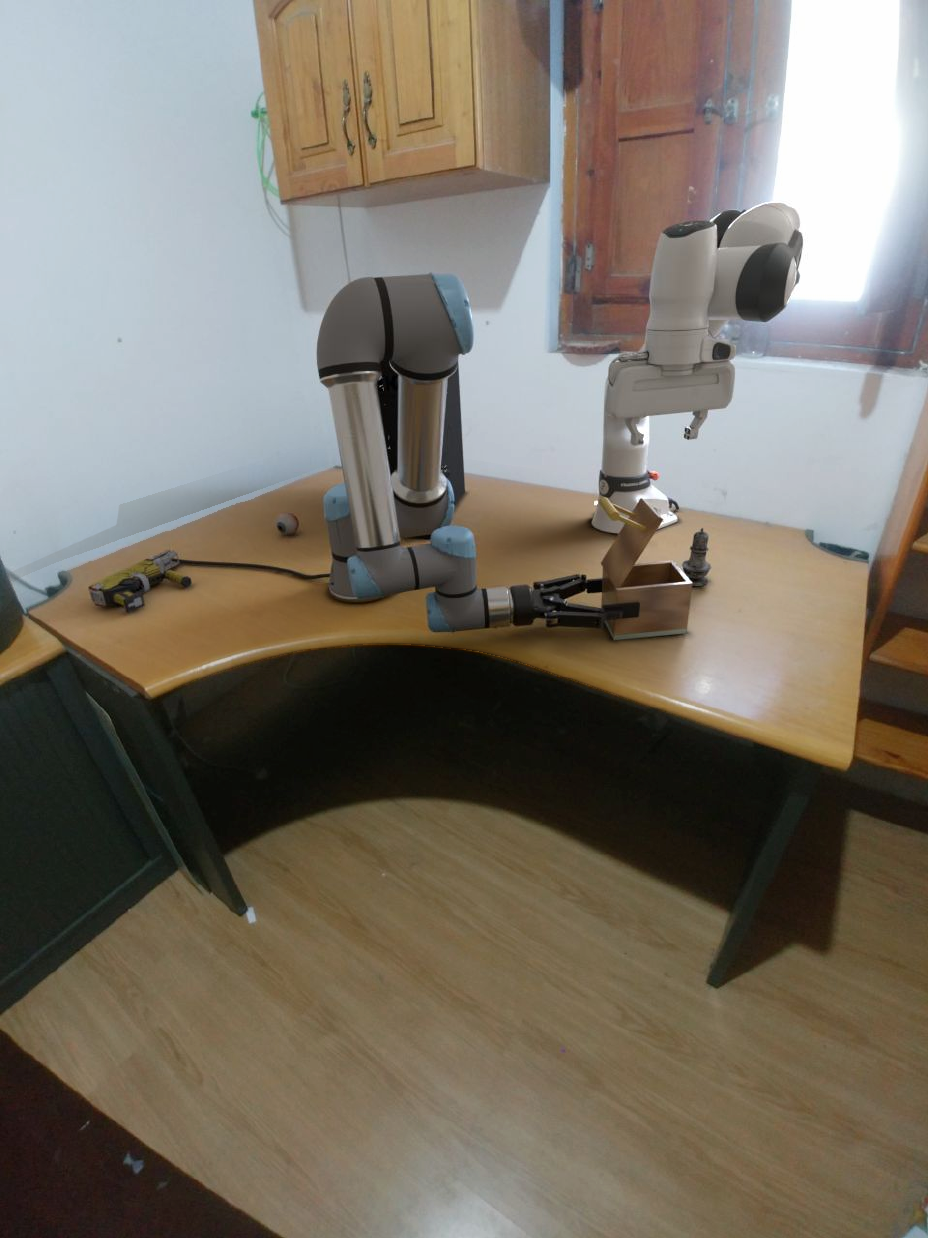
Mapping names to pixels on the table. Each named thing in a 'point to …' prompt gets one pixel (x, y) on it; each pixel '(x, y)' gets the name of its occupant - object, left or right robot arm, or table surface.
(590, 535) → the table surface
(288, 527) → the eyeball
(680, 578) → the chest
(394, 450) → the black box
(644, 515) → the lid
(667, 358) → the right robot arm
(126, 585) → the toy gun
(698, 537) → the salt shaker
